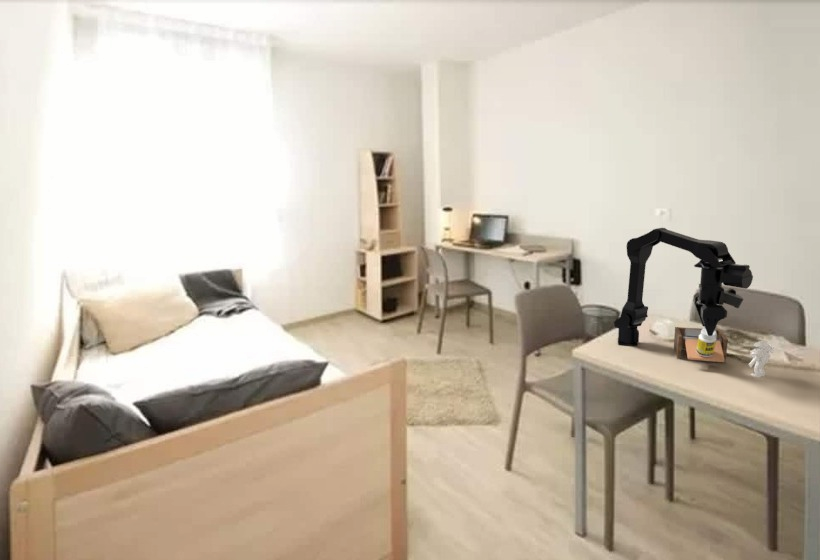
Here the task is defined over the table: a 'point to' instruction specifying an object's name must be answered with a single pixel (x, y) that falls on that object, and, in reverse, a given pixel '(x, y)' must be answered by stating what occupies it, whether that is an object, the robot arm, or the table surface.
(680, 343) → the stand
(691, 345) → the flap
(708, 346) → the supplement bottle
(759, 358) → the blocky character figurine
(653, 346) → the table surface
